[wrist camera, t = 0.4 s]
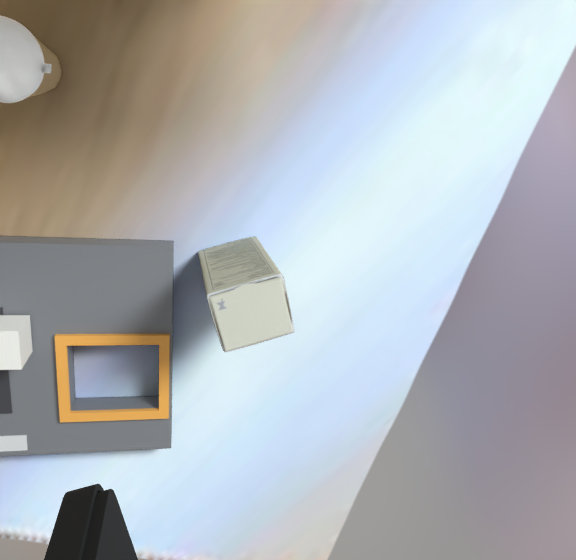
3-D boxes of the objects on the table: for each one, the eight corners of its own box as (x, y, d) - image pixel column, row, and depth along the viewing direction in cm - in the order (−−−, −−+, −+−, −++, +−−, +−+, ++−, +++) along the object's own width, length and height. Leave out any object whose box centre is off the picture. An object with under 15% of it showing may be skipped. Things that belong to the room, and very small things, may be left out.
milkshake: (81, 110, 38) (48, 113, 29) (0, 96, 37) (-61, 93, 28) (86, 43, 37) (53, 23, 28) (2, 26, 36) (-61, -2, 27)
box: (210, 297, 45) (218, 355, 34) (196, 249, 43) (201, 295, 33) (270, 281, 45) (296, 334, 35) (259, 233, 44) (283, 273, 33)
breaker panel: (-48, 234, 39) (-62, 242, 37) (173, 240, 42) (172, 248, 40) (-23, 442, 45) (-34, 460, 42) (171, 434, 48) (170, 450, 46)
